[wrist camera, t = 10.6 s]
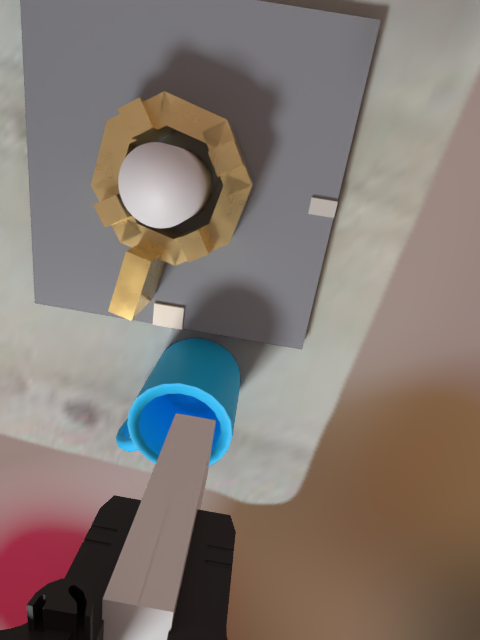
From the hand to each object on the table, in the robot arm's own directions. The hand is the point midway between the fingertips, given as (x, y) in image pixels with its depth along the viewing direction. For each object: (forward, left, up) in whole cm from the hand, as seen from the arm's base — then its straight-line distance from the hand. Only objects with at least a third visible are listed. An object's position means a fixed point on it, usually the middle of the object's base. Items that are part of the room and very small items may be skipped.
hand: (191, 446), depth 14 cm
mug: (-4, -10, -21) cm, 24 cm away
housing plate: (-6, +8, -20) cm, 23 cm away
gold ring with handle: (-6, +6, -19) cm, 21 cm away
